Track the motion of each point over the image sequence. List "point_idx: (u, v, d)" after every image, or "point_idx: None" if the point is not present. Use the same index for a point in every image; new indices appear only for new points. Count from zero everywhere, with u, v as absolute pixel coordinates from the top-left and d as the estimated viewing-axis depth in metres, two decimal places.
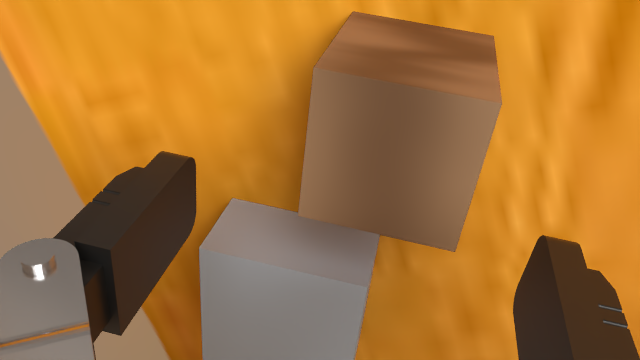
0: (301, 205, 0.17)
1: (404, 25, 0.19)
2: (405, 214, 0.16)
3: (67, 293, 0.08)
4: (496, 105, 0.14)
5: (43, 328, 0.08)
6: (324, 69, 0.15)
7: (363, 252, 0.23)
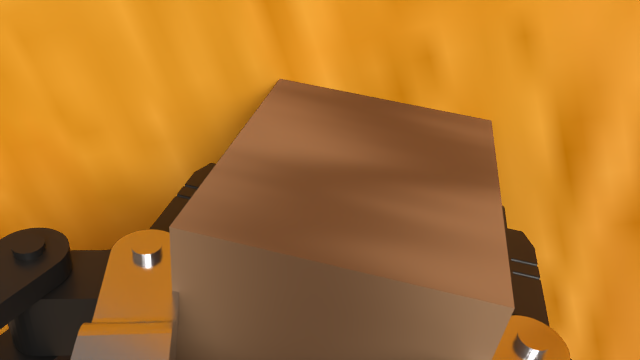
0: None
1: (354, 105, 0.12)
2: None
3: None
4: (504, 310, 0.07)
5: (136, 316, 0.08)
6: (189, 230, 0.08)
7: None
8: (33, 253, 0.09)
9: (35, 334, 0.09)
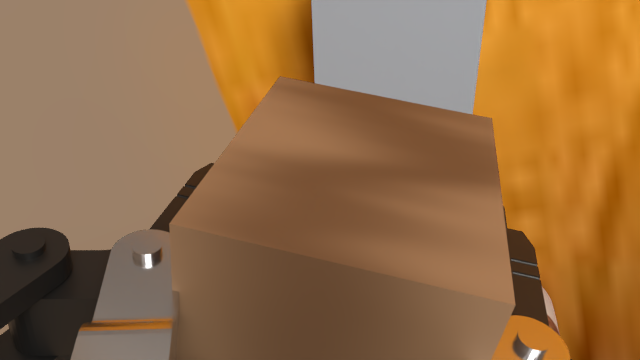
0: None
1: (355, 103, 0.12)
2: None
3: None
4: (504, 307, 0.07)
5: (136, 316, 0.08)
6: (189, 227, 0.08)
7: None
8: (33, 253, 0.09)
9: (35, 334, 0.09)
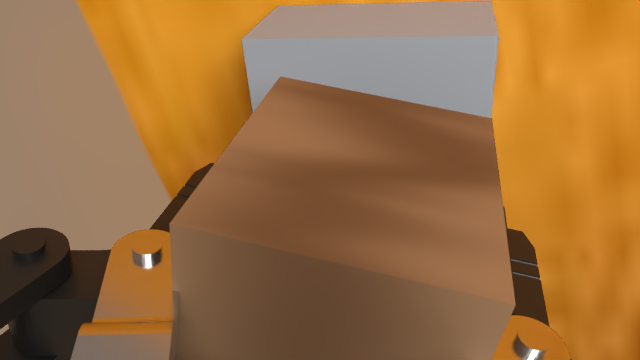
0: None
1: (355, 103, 0.12)
2: None
3: None
4: (505, 307, 0.07)
5: (136, 316, 0.08)
6: (189, 227, 0.08)
7: (476, 15, 0.16)
8: (33, 253, 0.09)
9: (35, 334, 0.09)
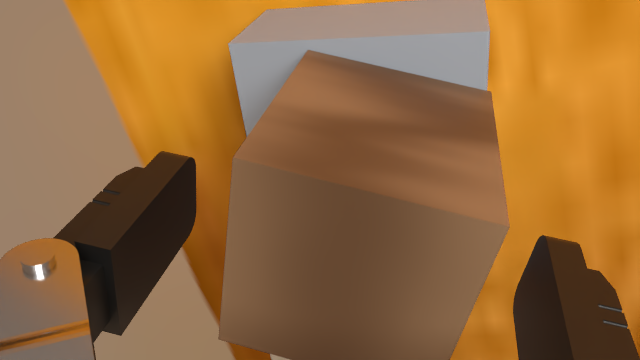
0: (222, 327, 0.12)
1: (374, 74, 0.14)
2: (365, 350, 0.12)
3: (67, 293, 0.08)
4: (501, 228, 0.09)
5: (43, 328, 0.08)
6: (249, 160, 0.10)
7: (467, 11, 0.15)
8: None
9: None
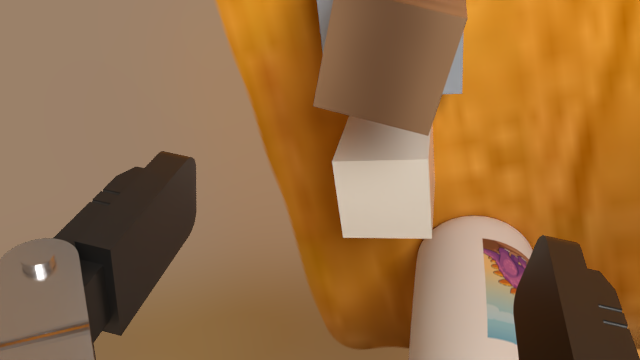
0: (316, 97, 0.23)
1: None
2: (394, 105, 0.22)
3: (67, 293, 0.08)
4: (463, 20, 0.20)
5: (43, 328, 0.08)
6: None
7: None
8: None
9: None
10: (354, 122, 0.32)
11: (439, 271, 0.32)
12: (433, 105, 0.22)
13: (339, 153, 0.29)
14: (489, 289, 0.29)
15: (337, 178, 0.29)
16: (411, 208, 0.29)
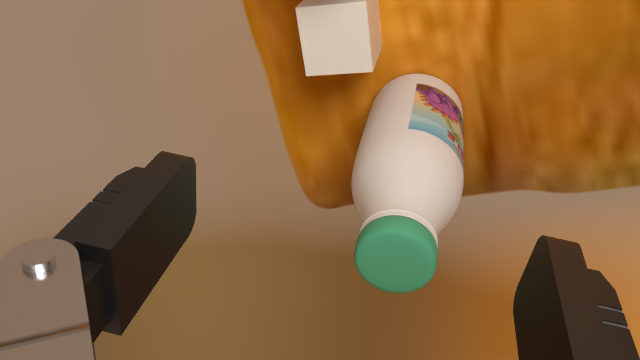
0: None
1: None
2: None
3: (67, 293, 0.08)
4: None
5: (43, 328, 0.08)
6: None
7: None
8: None
9: None
10: None
11: (381, 105, 0.41)
12: None
13: (301, 4, 0.39)
14: (415, 107, 0.38)
15: (299, 22, 0.38)
16: (356, 45, 0.38)
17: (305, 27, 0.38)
